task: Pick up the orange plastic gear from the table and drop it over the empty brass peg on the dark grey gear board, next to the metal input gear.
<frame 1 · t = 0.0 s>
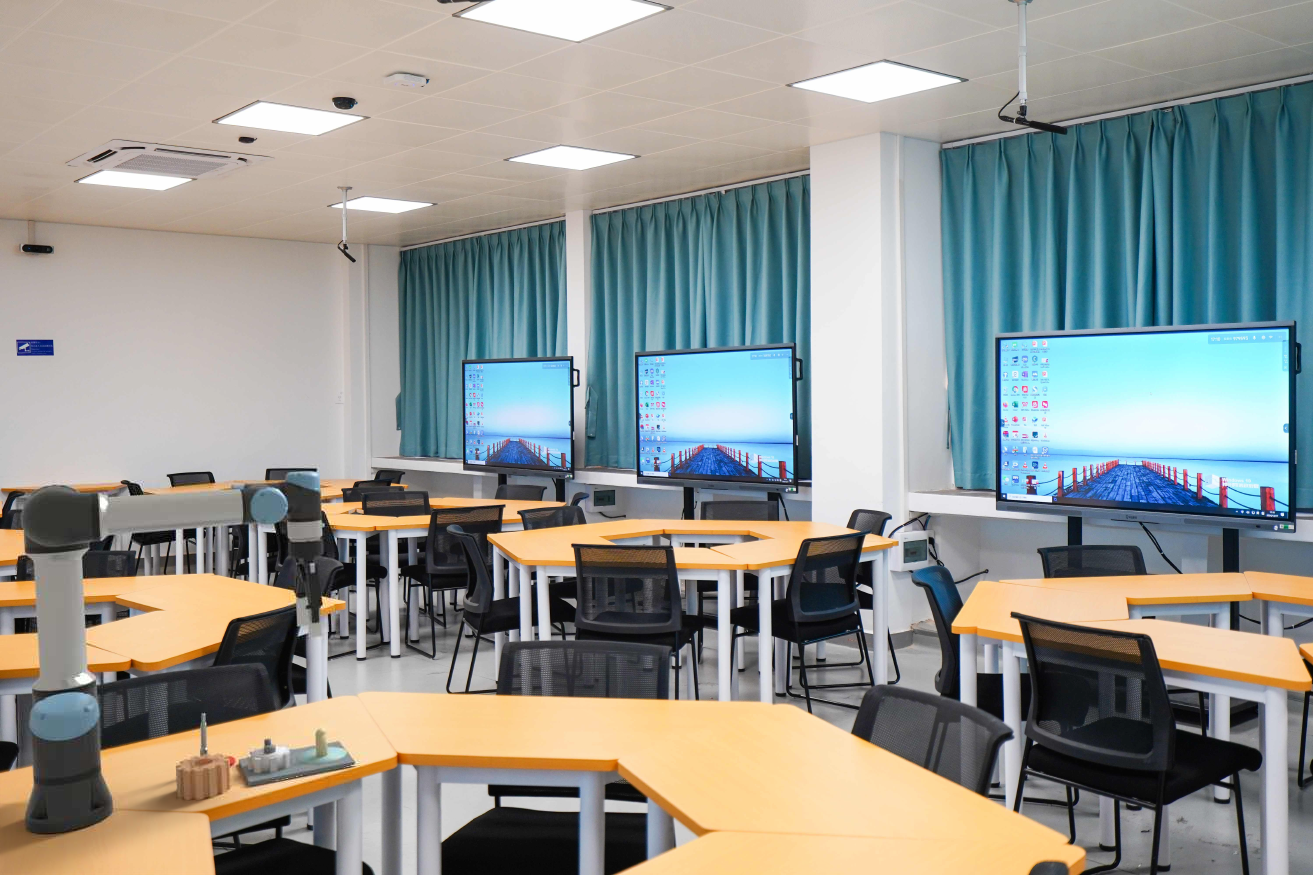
hand: (309, 630, 240), 28 cm above the table, tool pointing down, fingers open, 13 cm apart
gear board: (296, 764, 232), on the table
tow hook: (213, 766, 233), on the table
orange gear: (204, 790, 218), on the table
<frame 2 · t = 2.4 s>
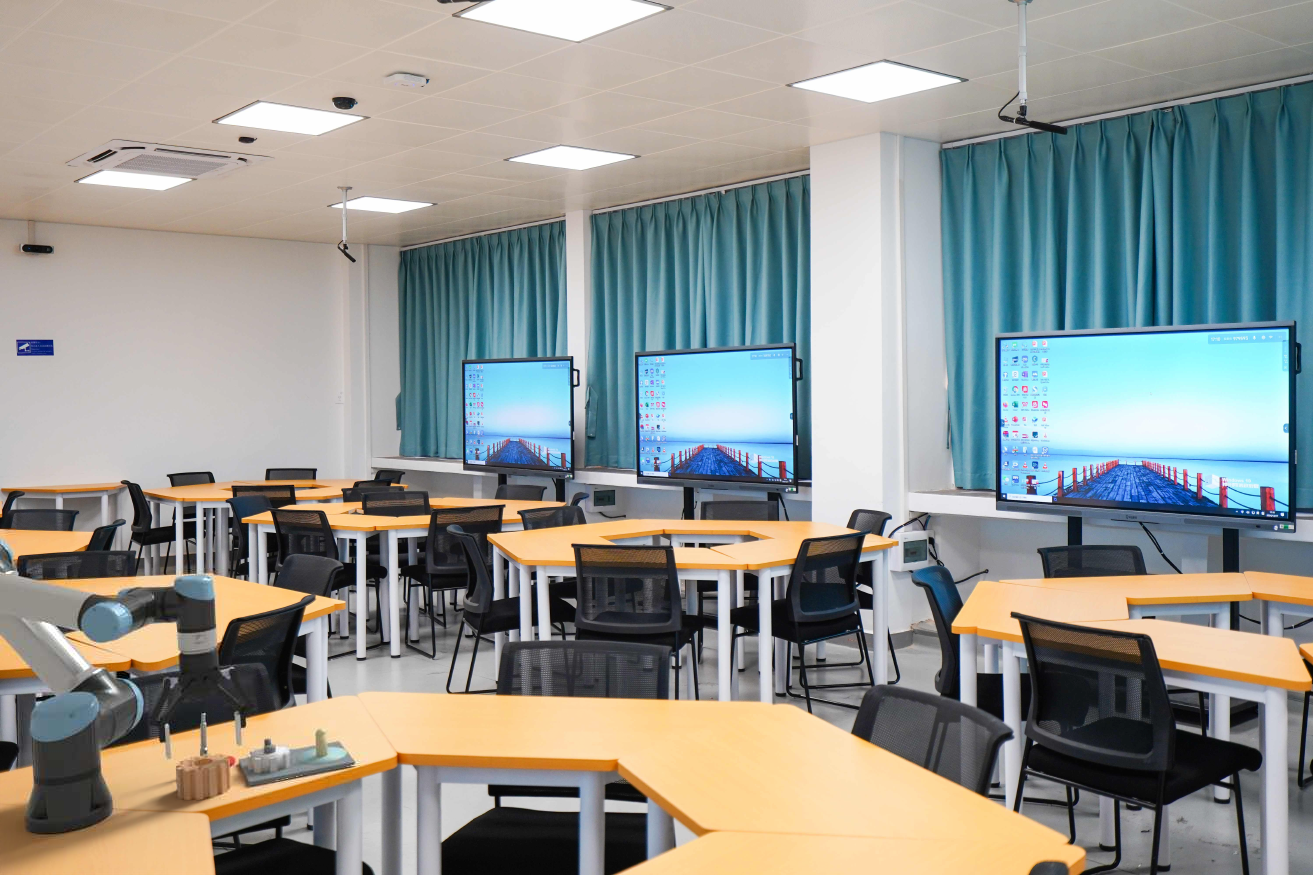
hand: (204, 750, 218), 8 cm above the table, tool pointing down, fingers open, 13 cm apart
nothing on the table moved.
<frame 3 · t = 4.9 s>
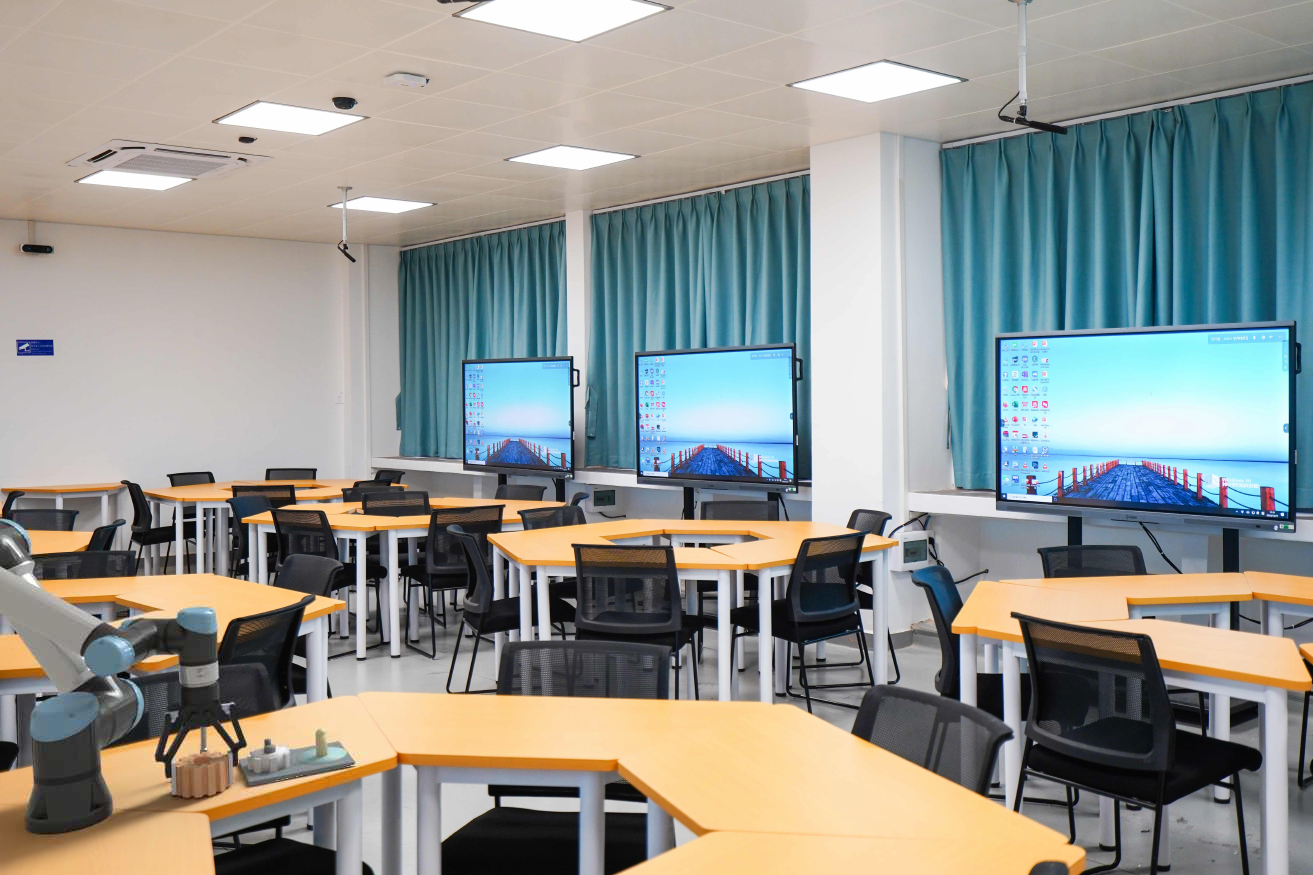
hand: (202, 787, 218), 1 cm above the table, tool pointing down, fingers closed on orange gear, 10 cm apart
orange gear: (202, 788, 218), on the table, touching gripper
everything else where it was.
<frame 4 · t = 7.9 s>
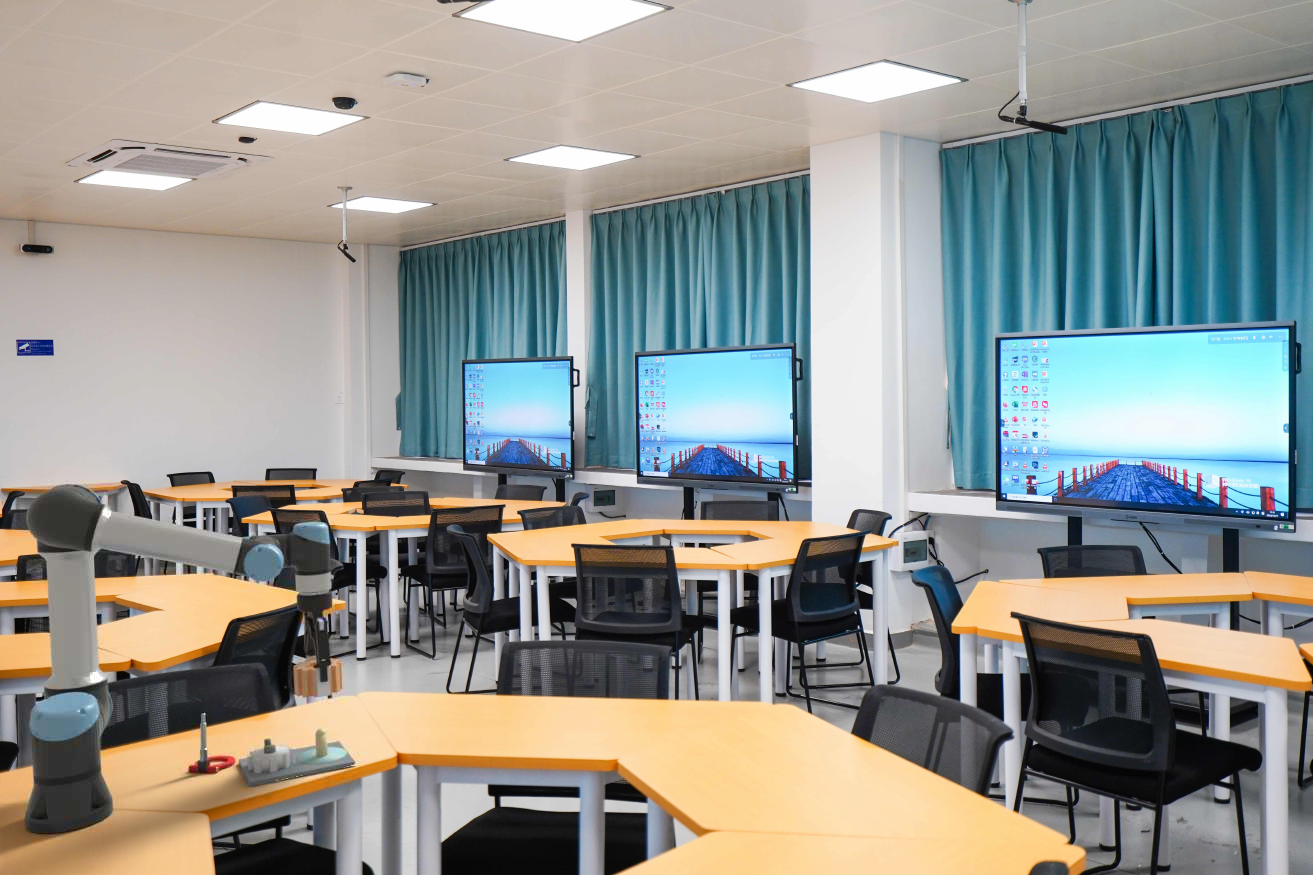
hand: (318, 689, 234), 16 cm above the table, tool pointing down, fingers closed on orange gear, 10 cm apart
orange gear: (318, 690, 234), point 16 cm above the table, touching gripper
everything else where it was.
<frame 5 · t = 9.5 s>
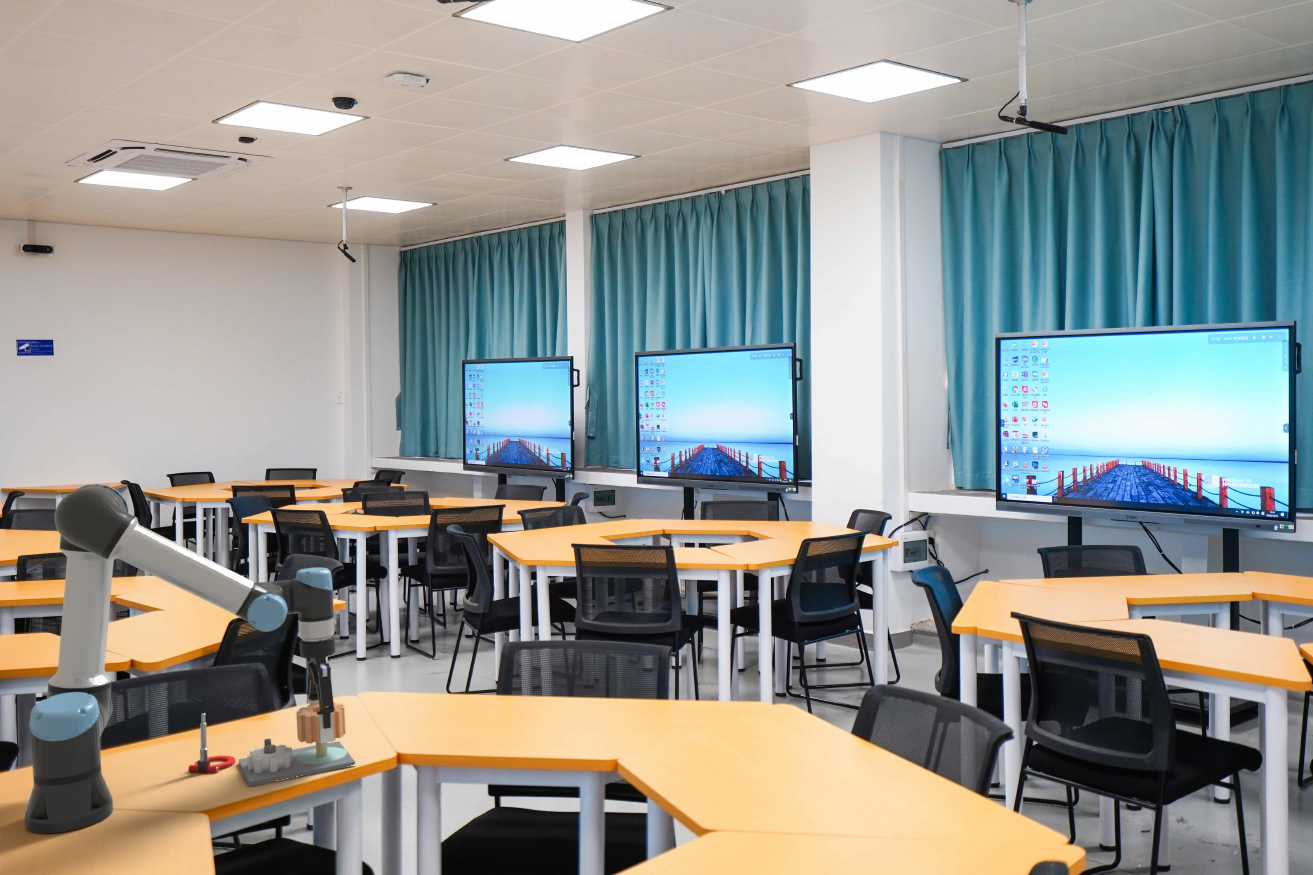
hand: (321, 734, 235), 6 cm above the table, tool pointing down, fingers closed on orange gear, 10 cm apart
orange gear: (321, 735, 235), point 6 cm above the table, touching gripper
everything else where it was.
when the fingers open (3 cm above the table, at t = 10.9 s): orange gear drops 2 cm, resting on gear board.
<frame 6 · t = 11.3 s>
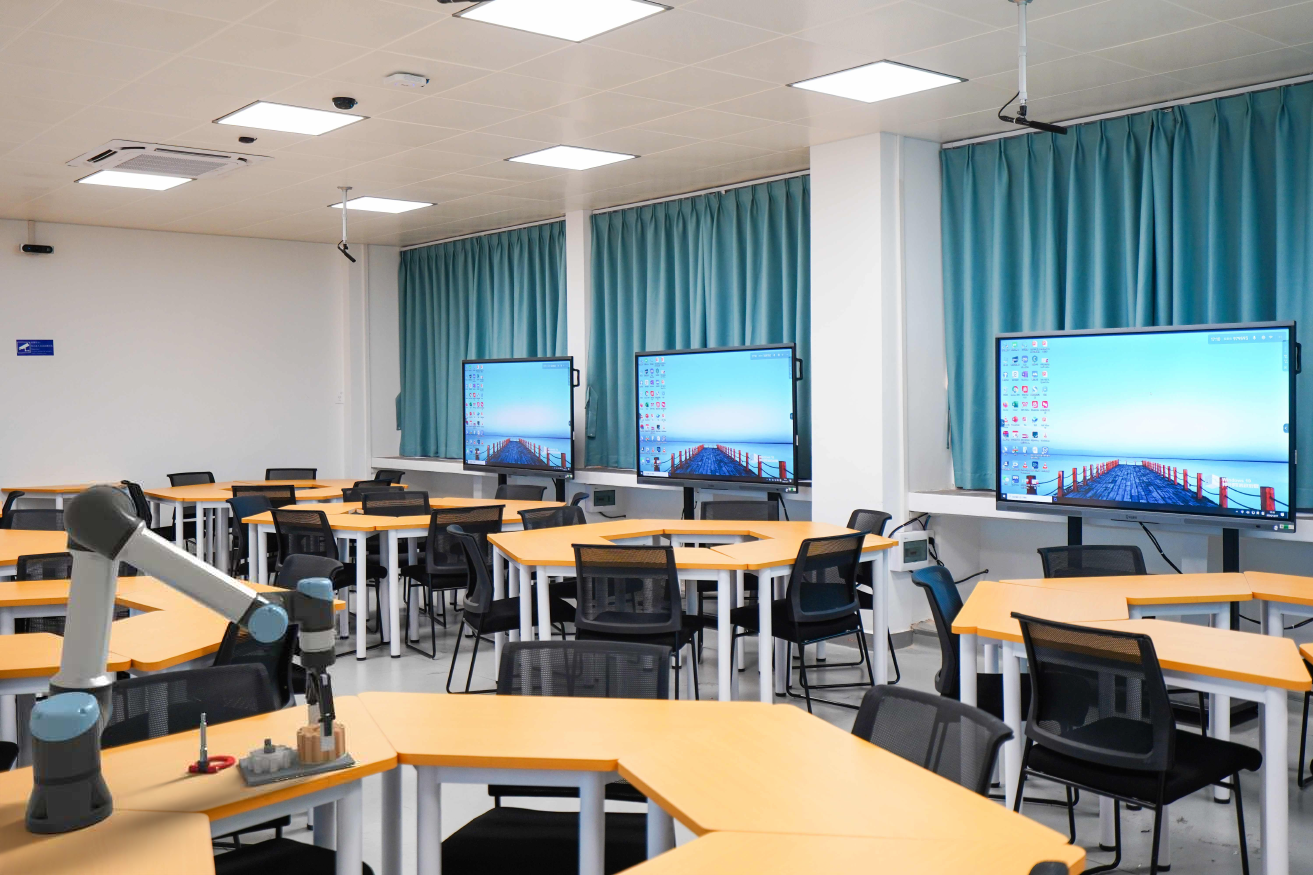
hand: (321, 741, 235), 4 cm above the table, tool pointing down, fingers open, 13 cm apart
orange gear: (321, 755, 235), point 1 cm above the table, touching gear board
everything else where it was.
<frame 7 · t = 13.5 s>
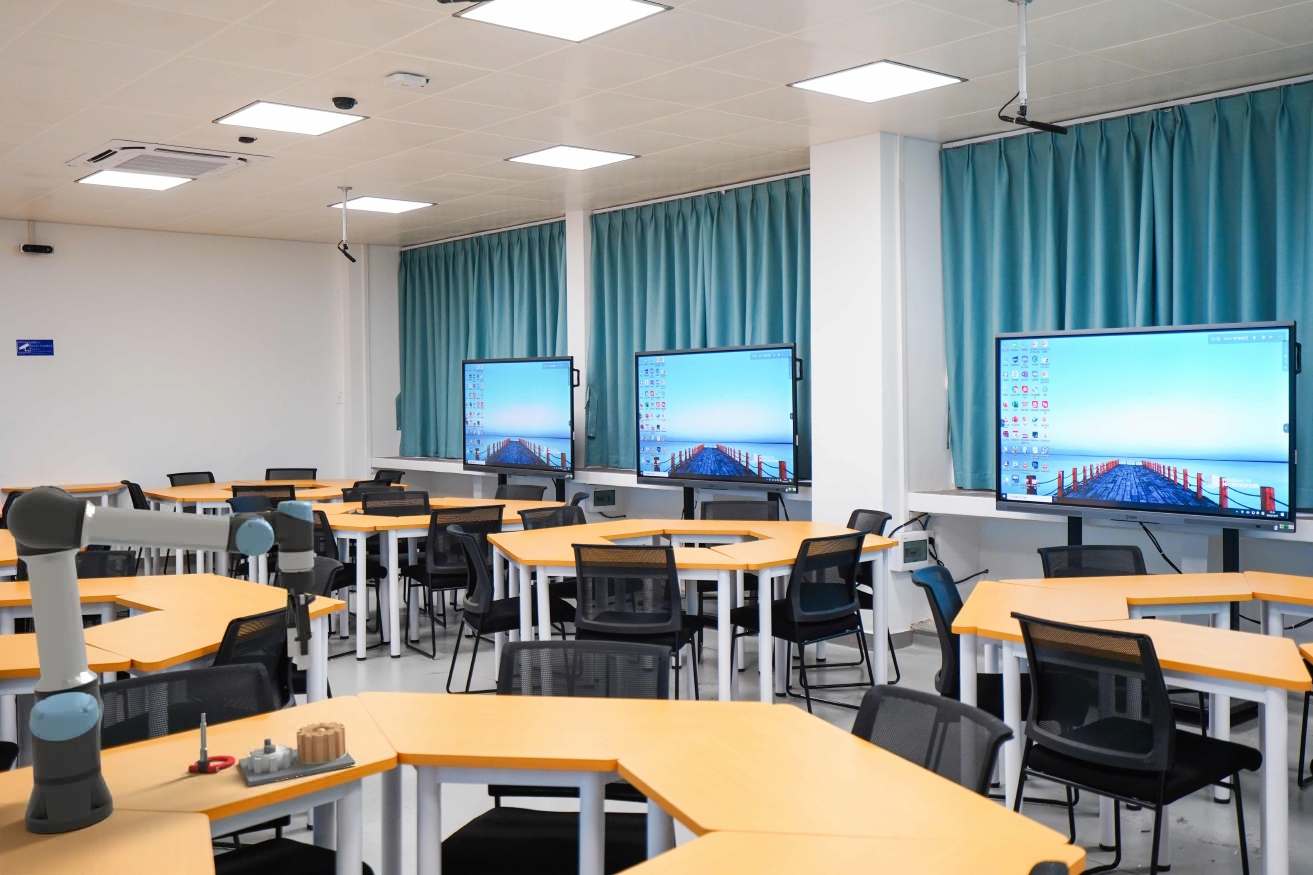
hand: (298, 662, 236), 22 cm above the table, tool pointing down, fingers open, 13 cm apart
nothing on the table moved.
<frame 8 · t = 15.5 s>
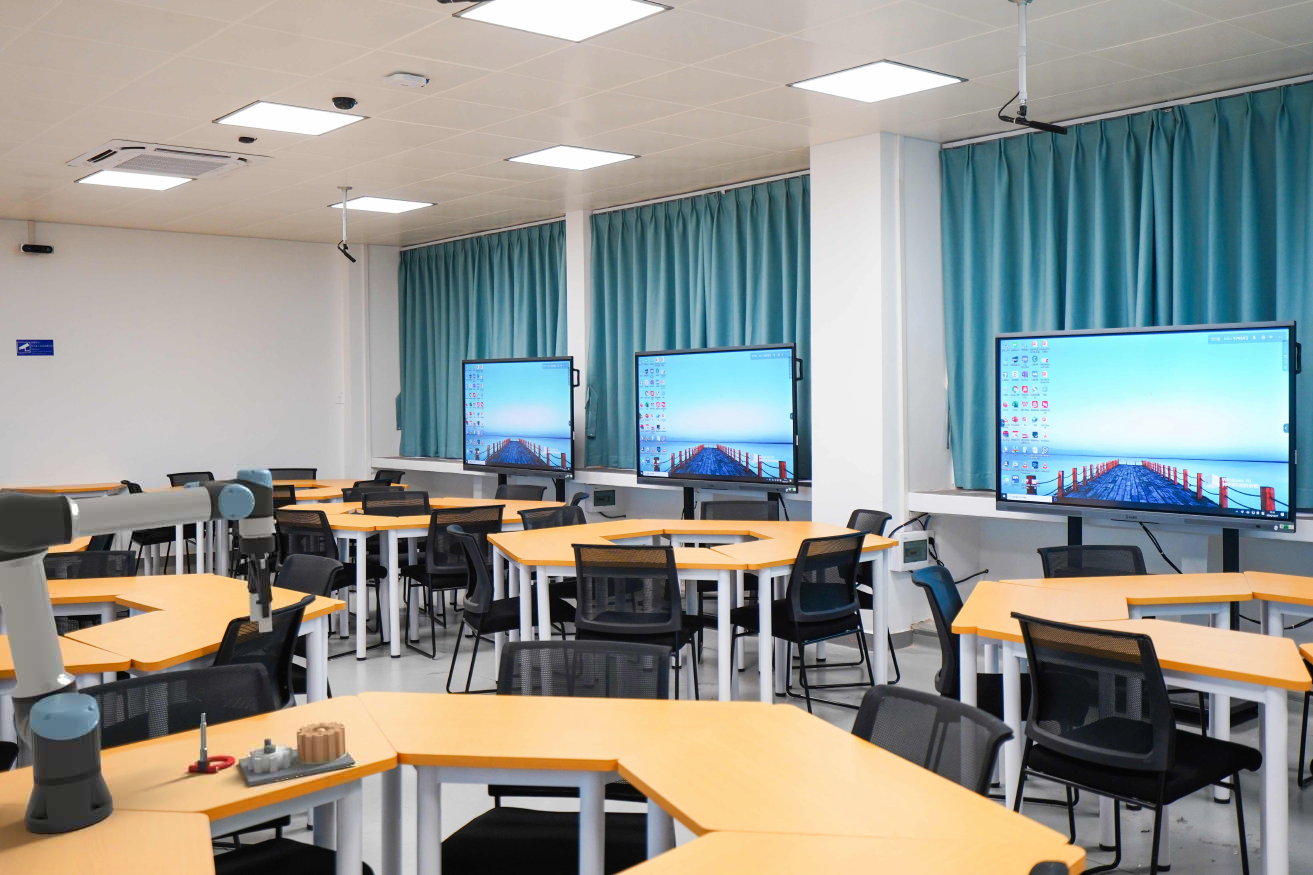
hand: (261, 626, 243), 29 cm above the table, tool pointing down, fingers open, 13 cm apart
nothing on the table moved.
at the end: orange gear 0.0 cm from the target spot on the gear board, point 1.1 cm above the gear board's base; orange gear tilted 0°; the gripper is holding nothing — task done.
